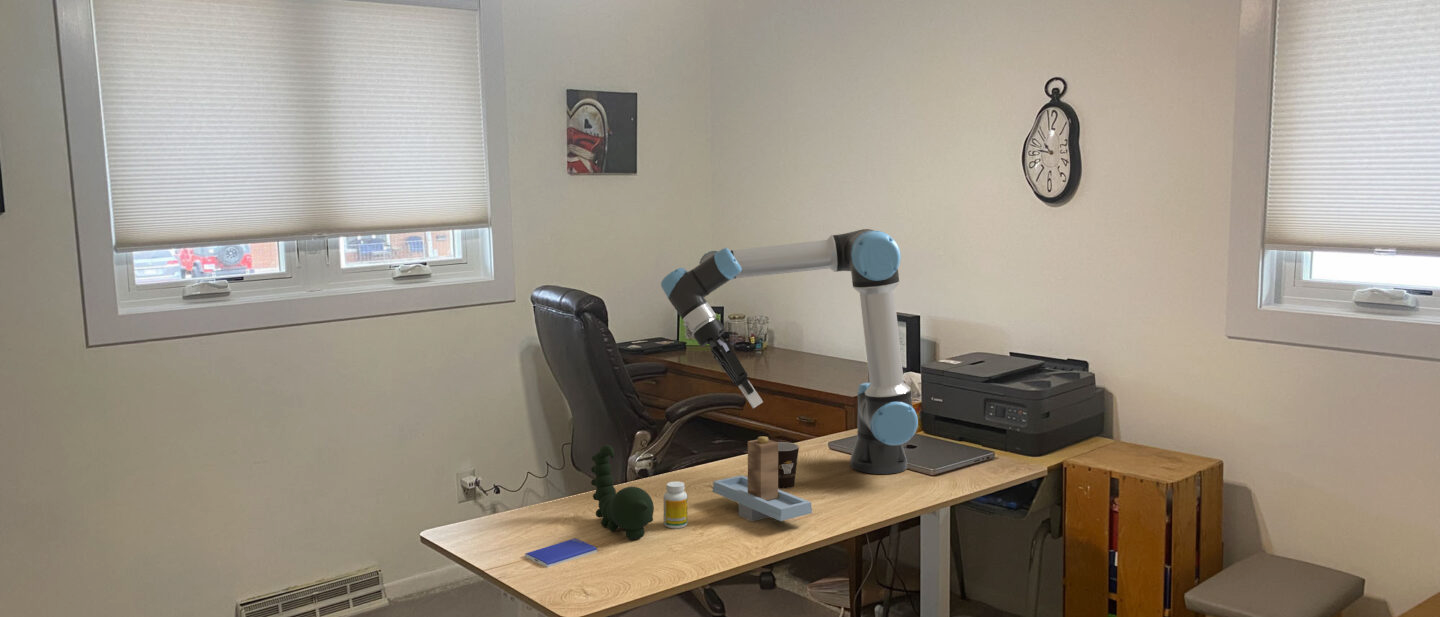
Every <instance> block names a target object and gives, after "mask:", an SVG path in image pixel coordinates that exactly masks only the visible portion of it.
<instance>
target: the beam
mask: <svg viewBox="0 0 1440 617" xmlns="http://www.w3.org/2000/svg"><path fill="white" fill-rule="evenodd" d="M712 493H714V494H717V495H719V496H721V497H724V498H726V499H729V500H731V501H733V502H736V503H737V504H738V516H739V517H740V518H743V519H746V520H748V521H750V522H755V521H759V520H762V519H767V518H773V519H775V520H777V521H779V522H783V521H786V520H791V519H795V518H798V517H803V516H807V515H810V514H811V515H812V514H813V508H812V502H811V501H809V500H807V499H804V498H801V497H799V496H797V495H793V494H792V493H789V492H786V491H783V490H781V489H780V488H778V498H774V499H770V500H764V499H761V498H759V497H757V496H754V495H752V494H749V493H748V476H745V475H743V474H742V475H736V476H732V477H727V478H723V479H718V480H717V479H716V480H713V481H712Z"/></svg>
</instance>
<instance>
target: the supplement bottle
mask: <svg viewBox="0 0 1440 617" xmlns="http://www.w3.org/2000/svg"><path fill="white" fill-rule="evenodd" d="M665 489H666V492H665V493H664V494H663V525H664V526H665V527H667V528H668V529H669V528H670V529H675V530H676V529H681V528H685V527H686V526H687V525H688V494H687V492H686V491H685V489H686V488H685V482H682V481H678V480H677V481H669V482H667V483H666V488H665Z"/></svg>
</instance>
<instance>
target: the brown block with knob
mask: <svg viewBox="0 0 1440 617" xmlns="http://www.w3.org/2000/svg"><path fill="white" fill-rule="evenodd" d="M778 442H779V441H774V440H771V439H769V437H768V436H758V437H757V439H754V440H749V441H747V477H748V493H749V494H752V495H754V496H757V497H759V498H761V499H764V500H770V499H774V498H778V489H779V488H778Z"/></svg>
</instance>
